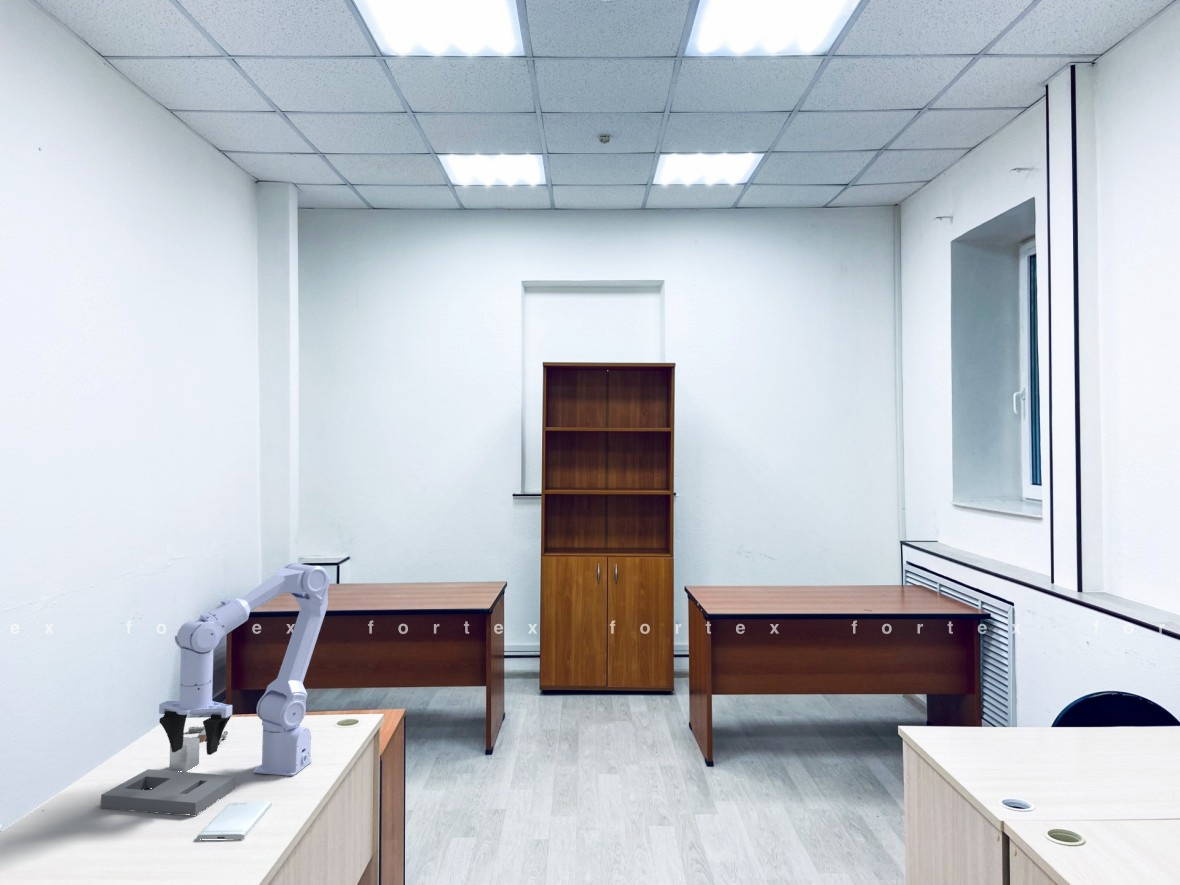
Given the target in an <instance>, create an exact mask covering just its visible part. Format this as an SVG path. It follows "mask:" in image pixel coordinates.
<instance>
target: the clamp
mask: <svg viewBox="0 0 1180 885" xmlns="http://www.w3.org/2000/svg"><path fill="white" fill-rule="evenodd" d="M197 732H200V733H199V736H192V737H191V738H200V741H205V740H206V741H207V739H206V732H205V728H204V726H189V727H188V733H189V734H190V733H197ZM228 734H229V732H228V731H227V730H225V731H223V733H222V735H221V738H220V741H219V745H221V742H222V741H223V740H222V739H225V738H226V739H227V735H228ZM226 739H225V740H226Z"/></svg>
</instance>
